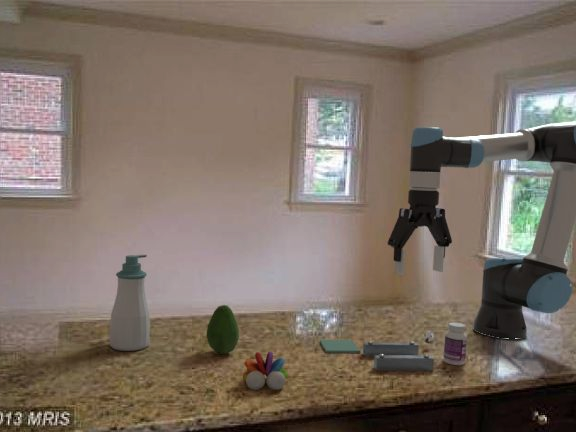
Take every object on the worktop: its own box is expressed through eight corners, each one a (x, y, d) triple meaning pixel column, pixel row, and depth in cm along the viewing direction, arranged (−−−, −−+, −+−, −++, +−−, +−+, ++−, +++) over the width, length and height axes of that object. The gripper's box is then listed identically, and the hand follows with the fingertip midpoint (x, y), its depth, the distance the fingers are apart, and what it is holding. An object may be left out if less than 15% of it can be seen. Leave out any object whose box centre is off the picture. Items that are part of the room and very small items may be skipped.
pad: (352, 342, 152) (352, 340, 152) (360, 353, 143) (360, 350, 143) (319, 341, 151) (319, 339, 151) (326, 352, 142) (326, 350, 142)
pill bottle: (466, 366, 137) (469, 328, 136) (444, 364, 138) (446, 326, 137) (464, 359, 142) (466, 322, 141) (442, 357, 143) (445, 320, 142)
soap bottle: (157, 347, 140) (160, 257, 138) (122, 355, 133) (124, 260, 131) (136, 337, 147) (138, 252, 145) (101, 344, 140) (103, 255, 138)
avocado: (224, 346, 144) (226, 300, 143) (244, 354, 138) (246, 306, 137) (199, 351, 138) (201, 304, 137) (218, 360, 132) (220, 311, 131)
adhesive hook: (423, 340, 158) (424, 329, 158) (431, 340, 159) (431, 329, 159) (430, 344, 156) (431, 333, 155) (438, 343, 157) (438, 332, 156)
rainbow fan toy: (242, 377, 123) (243, 345, 122) (285, 377, 124) (287, 345, 123) (242, 392, 115) (243, 358, 114) (289, 393, 116) (290, 359, 115)
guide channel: (415, 353, 145) (416, 340, 144) (433, 370, 133) (434, 356, 132) (362, 353, 143) (363, 340, 142) (376, 370, 131) (377, 356, 131)
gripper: (447, 189, 150) (442, 267, 152) (376, 187, 137) (371, 273, 138) (469, 190, 143) (464, 272, 145) (397, 189, 130) (392, 278, 132)
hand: (418, 272), depth 142 cm, fingers open, 13 cm apart
